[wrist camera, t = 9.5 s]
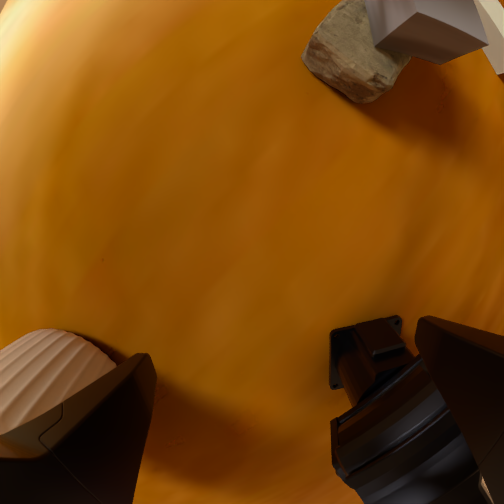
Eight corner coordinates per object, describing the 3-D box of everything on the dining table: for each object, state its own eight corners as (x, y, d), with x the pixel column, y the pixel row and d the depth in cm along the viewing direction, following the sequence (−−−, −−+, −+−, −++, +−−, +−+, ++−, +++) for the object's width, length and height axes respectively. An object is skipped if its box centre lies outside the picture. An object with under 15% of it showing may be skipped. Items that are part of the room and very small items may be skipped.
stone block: (414, 26, 15) (445, 5, 10) (359, 113, 18) (391, 100, 13) (359, -14, 14) (381, -44, 9) (291, 67, 17) (306, 38, 12)
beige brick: (510, 64, 15) (533, 59, 11) (495, 74, 16) (520, 69, 12) (472, 4, 13) (492, -7, 10) (453, 9, 14) (475, -4, 10)
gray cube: (439, 64, 12) (489, 45, 7) (373, 46, 12) (417, 11, 7) (424, 6, 11) (463, -22, 6) (360, -14, 11) (391, -54, 6)
